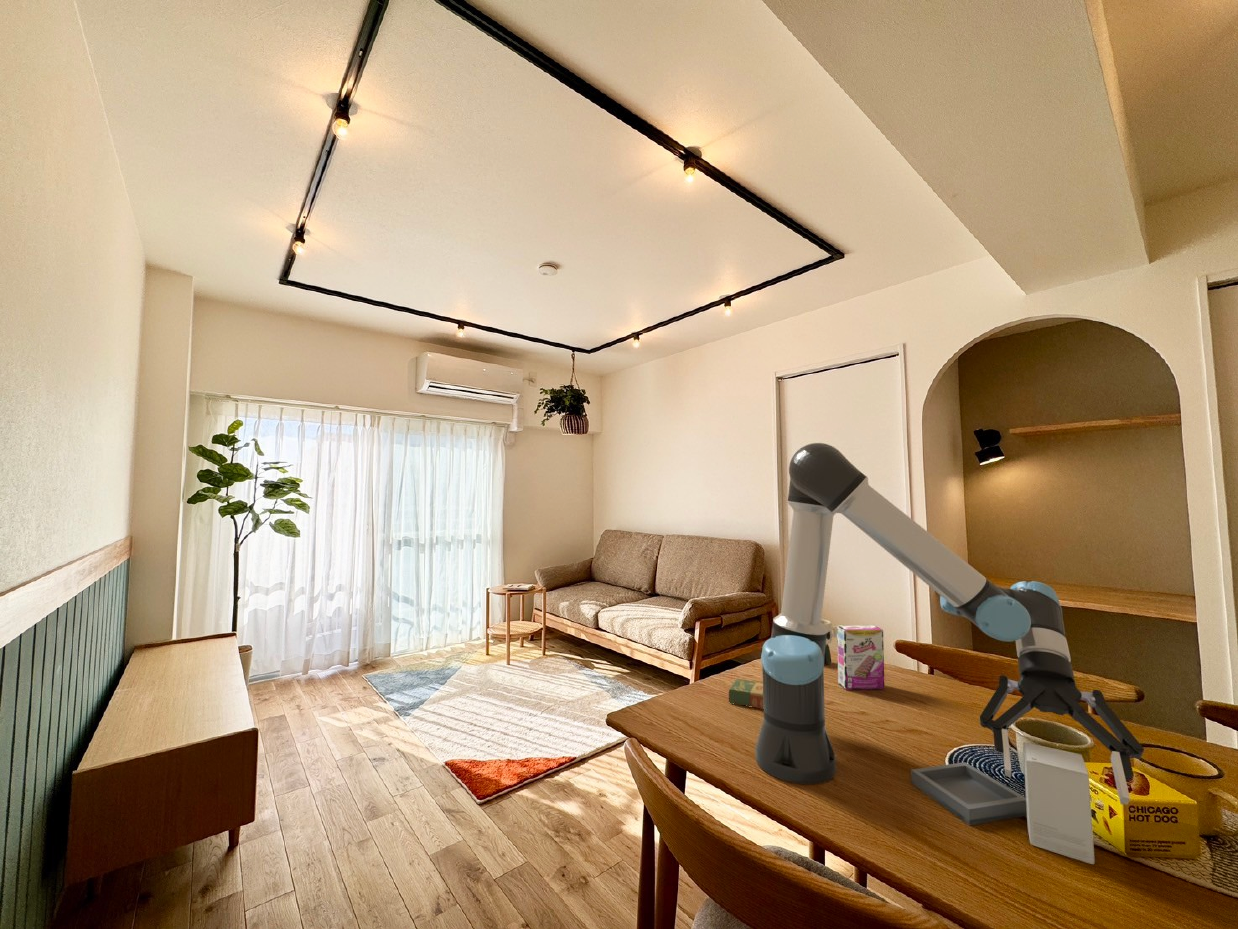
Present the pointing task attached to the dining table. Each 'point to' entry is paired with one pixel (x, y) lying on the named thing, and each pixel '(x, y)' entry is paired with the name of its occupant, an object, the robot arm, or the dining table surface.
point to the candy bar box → (860, 657)
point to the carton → (746, 693)
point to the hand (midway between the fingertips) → (1063, 786)
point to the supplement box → (1058, 802)
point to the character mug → (828, 639)
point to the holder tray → (969, 793)
